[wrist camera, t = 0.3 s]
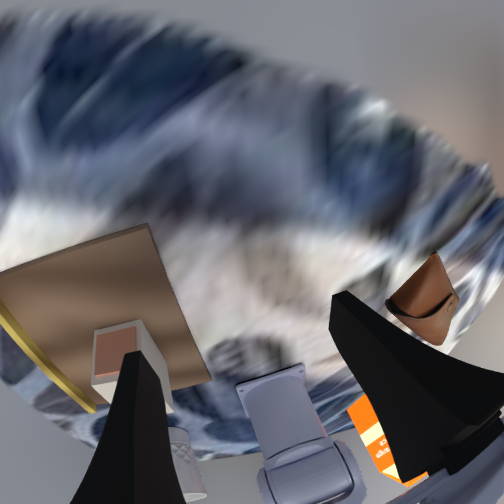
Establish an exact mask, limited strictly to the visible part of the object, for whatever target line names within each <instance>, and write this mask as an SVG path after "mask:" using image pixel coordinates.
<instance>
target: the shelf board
mask: <svg viewBox="0 0 504 504" xmlns="http://www.w3.org/2000/svg"><path fill="white" fill-rule="evenodd" d="M139 319H141V320H142V322H143V324H144V325H145V327H146V329H147V331H148V332H149V334H150V336H151V338H152V339H153V341H154V343H155V344H156V346H157V348H158V349H159V351H160V353H161V354H162V356H163V357H164V359H165V361H166V362H167V369H168V376H169V382H170V389H171V391H172V390H176V389H181V388H185V387H189V386H193V385H197V384H201V383H205V382H209V381H212V380H211V376H210V374H209V372H208V370H207V368H206V365H205V363H204V361H203V359H202V357H201V355H200V353H199V350H198V348H197V346H196V344H195V342H194V339H193V337H192V335H191V333H190V330H189V328H188V326H187V323H186V321H185V319H184V316H183V314H182V312H181V309H180V307H179V304H178V302H177V300H176V297H175V295H174V292H173V290H172V287H171V285H170V282H169V280H168V277H167V275H166V272H165V269H164V267H163V264H162V262H161V259H160V256H159V254H158V251H157V248H156V245H155V243H154V240H153V237H152V234H151V231H150V229H149V226H148V223H147V224H144V225H140V226H137V227H133V228H130V229H127V230H123V231H120V232H117V233H114V234H110V235H107V236H104V237H101V238H98V239H95V240H92V241H88V242H85V243H82V244H79V245H76V246H73V247H70V248H67V249H64V250H61V251H58V252H56V253H53V254H50V255H47V256H44V257H41V258H38V259H36V260H33V261H30V262H27V263H25V264H22V265H19V266H16V267H14V268H11V269H8V270H6V271H3V272H1V273H0V324H1V325H2V326H3V328H4V329H5V330H6V331H7V332H8V334H9V335H10V336H11V337H12V338H13V339H14V341H15V342H16V343H17V344H18V345H19V346H20V347H21V348H22V350H23V351H24V352H25V353H26V354H27V355H28V356H29V357H30V358H31V359H32V360H33V361H34V362H35V363H36V364H37V367H38V368H39V369H40V370H41V371H42V372H43V373H44V374H45V375H46V376H47V377H48V378H49V379H50V380H51V381H54V382H55V383H56V384H57V385H58V386H59V387H60V388H61V389H62V390H64V391H65V392H66V393H67V394H68V395H69V396H70V397H71V398H73V399H74V400H75V401H76V402H77V403H78V404H80V405H81V406H82V407H83V408H84V409H86V410H87V411H88V412H89V413H96V405H97V404H104V403H109V402H108V401H107V400H106V399H104V398H103V397H102V396H101V395H100V394H99V393H98V392H97V391H96V390H95V389H94V388H93V387H92V386H91V375H92V356H93V342H94V331H95V330H98V329H103V328H107V327H111V326H115V325H119V324H123V323H127V322H131V321H135V320H139Z"/></svg>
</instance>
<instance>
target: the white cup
mask: <svg viewBox="0 0 504 504" xmlns="http://www.w3.org/2000/svg"><path fill="white" fill-rule="evenodd" d="M168 430H169V438H170V445H171V452H172V458H173V463H174V467H175V470H176V474H177V477H178V480H179V484H180V487H181V490H182V493H183V496H184V499H185V502H188V501H193V500H198V499H201V498H204V497H206V496H207V492H206V489H205V487H204V484H203V480H202V477H201V474H200V470H199V467H198V464H197V461H196V458H195V455H194V452H193V450H192V448H191V444H190V440H189V437H188V433H187V432H186V431H185V430H183V429H181V428H176V427H168Z"/></svg>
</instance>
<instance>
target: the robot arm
mask: <svg viewBox="0 0 504 504" xmlns="http://www.w3.org/2000/svg"><path fill="white" fill-rule="evenodd" d="M328 329H329V332H330V334H331V336H332V338H333V340H334V343H335V345H336V347H337V349H338V351H339V353H340V354H341V356H342V357H343V359H344V361H345V362H346V364H347V365H348V367H349V369H350V370H351V372H352V373H353V375H354V377H355V378H356V380H357V381H358V383H359V384H360V386H361V388H362V389H363V391H364V392H365V394H366V396H367V398H368V400H369V401H370V403H371V406H372V408H373V410H374V412H375V414H376V416H377V419H378V421H379V423H380V426H381V428H382V430H383V433H384V435H385V438H386V440H387V443H388V445H389V448H390V451H391V454H392V457H393V460H394V463H395V466H396V469H397V473H398V477H399V478H400V480H401V482H402V484H404V483H406V482H408V481H410V480H412V479H415V478H417V477H419V476H420V475H422V474H424V473H425V472H427V473H428V475H429V478H427V479H426V480H424V481H423V482H421V483H420V484H418V485H416V486H415V487H413V488H412V489H410V490H408V491H407V492H405V493H403V494H402V495H400V496H398V497H396V498H395V499H393V500H391V501H389V502H387V503H386V504H416V503H418V502H420V504H496V503H497V502H498V501H499V499H500V498H501V497H502V496H503V494H504V416H503V417H502V418H499V416H500V415H501V414H502V412H501V411H500V409H501V408H502V407H503V406H504V373H500V372H495V371H492V370H487V369H484V368H481V367H477V366H474V365H471V364H468V363H466V362H463V361H461V360H458V359H456V358H453V357H451V356H448V355H446V354H444V353H442V352H440V351H438V350H436V349H434V348H432V347H430V346H428V345H426V344H424V343H423V342H421V341H419V340H417V339H416V338H414V337H412V336H411V335H409V334H408V333H406V332H404V331H403V330H401V329H400V328H398V327H397V326H395V325H394V324H392V323H391V322H389V321H388V320H387V319H385V318H384V317H382V316H381V315H379V314H378V313H377V312H375V311H374V310H373V309H371V308H370V307H369V306H367V305H366V304H364V303H363V302H362V301H360V300H359V299H358V298H356V297H355V296H354V295H352V294H351V293H350V292H348V291H347V290H346V291H343V292H340V293H337V294H334V295H332V302H331V311H330V320H329V328H328ZM304 386H305V365H304V364H300V365H298V366H295V367H292V368H289V369H286V370H283V371H280V372H277V373H274V374H271V375H268V376H265V377H262V378H259V379H255V380H252V381H249V382H245V383H242V384H239V385H237V386H236V390H237V393H238V395H239V398H240V400H241V403H242V406H243V408H244V411H245V413H246V416H247V417H250V419H251V422H252V425H253V428H254V431H255V434H256V437H257V440H258V442H259V445H260V448H261V451H262V453H263V456H264V459H265V461H263V465H264V468H261V469H260V470H259V473H258V475H257V483H258V487H259V490H260V493H261V495H262V498H263V500H264V503H265V504H317V503H319V502H322V501H324V500H327V499H329V498H332V497H334V496H337V495H339V494H341V493H344V492H345V493H344V494H343V495H341V496H339V497H337V498H335V499H332V500H330V501H328V502H325V503H322V504H362V503H363V502H364V500H365V498H366V496H367V494H366V492H367V488H366V486H365V484H364V481H363V479H362V474H361V471H360V468H359V466H358V463H357V461H356V459H355V457H354V455H353V453H352V452H351V450H350V448H349V446H348V445H347V444H346V443H345V442H343V441H340V440H335V441H332V438H331V436H327V434H326V431H325V429H324V427H323V425H322V423H321V421H320V419H319V417H318V415H317V412H316V410H315V408H314V406H313V404H312V402H311V400H310V398H309V396H308V393H307V391H306V389H305V387H304ZM70 504H186V502H185V499H184V496H183V493H182V490H181V487H180V484H179V480H178V477H177V474H176V470H175V467H174V463H173V458H172V452H171V445H170V438H169V430H168V422H167V414H166V405H165V400H164V395H163V390H162V386H161V381H160V378H159V377H158V375H157V374H156V372H155V371H154V369H153V368H152V367H151V365H150V364H149V362H148V361H147V359H146V358H145V356H144V355H143V353H142V352H141V350H138V351H134V352H129V353H125V355H124V357H123V361H122V365H121V369H120V373H119V377H118V381H117V384H116V388H115V392H114V395H113V399H112V402H111V406H110V410H109V413H108V416H107V419H106V422H105V425H104V428H103V432H102V435H101V437H100V440H99V443H98V446H97V448H96V451H95V453H94V456H93V458H92V461H91V463H90V465H89V467H88V470H87V472H86V474H85V477H84V478H83V480H82V482H81V484H80V486H79V488H78V490H77V492H76V494H75V495H74V497H73V499H72V501H71V502H70Z"/></svg>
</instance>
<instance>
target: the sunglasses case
mask: <svg viewBox="0 0 504 504" xmlns="http://www.w3.org/2000/svg"><path fill="white" fill-rule="evenodd" d="M458 302H459V297H458V296H457V295H456V293H455V291H454V289H453V287H452V285H451V283H450V280H449V278H448V276H447V274H446V271H445V269H444V266H443V263H442V261H441V259H440V257H439V255H438V254H437V252H435V253H432V254H431V255H430V256H429V258H428V259H427V261H426V262H425V263H424V264H423V265H422V266H421V267H420V268H419V269H418V270H417V271H416V272H415V273H414V274H413V275H412V276H411V277H410V278H409V279H408V280H407V281H406V282H405V283H404V284H403V285H402V286H401V287H400V288H399V289H398V290H397V291H396V292H395V293H394V294H393V295H392V296H391V297H390V298H389V299H387V300H386V306H387V309H388V310H389V311H390V312H391V313H392V314H393V315H394V316H395V317H396V318H398V319H399V320H400V321H401V322H402V323H403V324H404V325H406V326H407V327H408V328H410V329H411V330H412V331H413V332H415V333H416V334H417V335H419V336H420V337H421V338H422V339H424V340H425V341H427V342H429V343H431V344H432V345H436V346H439V345H442V344H443V342H444V340H445V338H446V336H447V333H448V330H449V326H450V323H451V319H452V316H453V314H454V312H455V309H456V307H457V305H458Z"/></svg>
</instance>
